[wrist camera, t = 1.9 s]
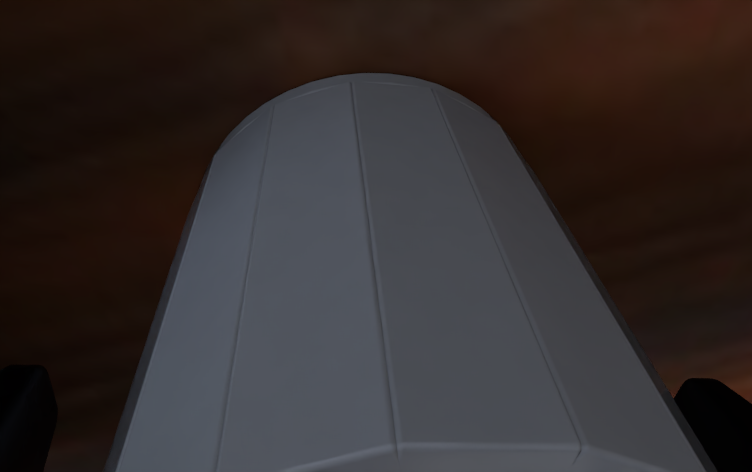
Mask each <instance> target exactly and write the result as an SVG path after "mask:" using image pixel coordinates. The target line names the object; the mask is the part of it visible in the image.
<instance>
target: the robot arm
mask: <svg viewBox="0 0 752 472" xmlns="http://www.w3.org/2000/svg"><path fill="white" fill-rule="evenodd" d="M674 401H675V402H676V404H677V406H678V407H679V409H680V410H681V412H682V414H683V415H684V417H685V419H686V420H687V422H688V423H689V425H690V427H691V428H692V430H693V432H694V433H695V435H696V436H697V438H698V440H699V441H700V443H701V445H702V446H703V448H704V449H705V451H706V453H707V454H708V456H709V458H710V459H711V461H712V463H713V464H714V466H715V467H716V469H717V471H718V472H752V404H751V403H750V402H748V401H747V400H745V399H744V398H743V397H741V396H740V395H738V394H737V393H736V392H734V391H733V390H731V389H730V388H729V387H727V386H726V385H725V384H723V383H722V382H720V381H718V380H715V379H710V378H691V379H688V380H686V381H685V382H684V383H683V384H682V386H681V387H680V389H679V391H678V392H677V394H676V396H675V397H674ZM57 416H58V408H57V403H56V399H55V396H54V392H53V389H52V385H51V382H50V378H49V375H48V372H47V370H46V369H45V368H44V367H43V366H41V365H20V364H15V365H10V366H7V367H5V368H4V369H2V370H1V371H0V472H43V470H44V466H45V463H46V459H47V456H48V452H49V448H50V445H51V441H52V438H53V434H54V430H55V427H56V423H57Z"/></svg>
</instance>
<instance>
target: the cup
mask: <svg viewBox="0 0 752 472" xmlns="http://www.w3.org/2000/svg"><path fill="white" fill-rule="evenodd" d="M103 472H718V471H717V469H716V467H715V466H714V464H713V463H712V461H711V459H710V458H709V456H708V454H707V453H706V451H705V449H704V448H703V446H702V445H701V443H700V441H699V440H698V438H697V436H696V435H695V433H694V432H693V430H692V428H691V427H690V425H689V423H688V422H687V420H686V419H685V417H684V415H683V414H682V412H681V410H680V409H679V407H678V406H677V404H676V402H675V401H674V399H673V397H672V396H671V394H670V392H669V391H668V389H667V388H666V386H665V384H664V383H663V381H662V379H661V378H660V376H659V375H658V373H657V371H656V370H655V368H654V366H653V365H652V363H651V362H650V360H649V358H648V357H647V355H646V353H645V352H644V350H643V349H642V347H641V345H640V344H639V342H638V340H637V339H636V337H635V335H634V334H633V332H632V331H631V329H630V327H629V326H628V324H627V322H626V321H625V319H624V318H623V316H622V314H621V313H620V311H619V309H618V308H617V306H616V305H615V303H614V301H613V300H612V298H611V296H610V295H609V293H608V292H607V290H606V288H605V287H604V285H603V283H602V282H601V280H600V278H599V277H598V275H597V274H596V272H595V270H594V269H593V267H592V265H591V264H590V262H589V261H588V259H587V257H586V256H585V254H584V252H583V251H582V249H581V248H580V246H579V244H578V243H577V241H576V239H575V238H574V236H573V235H572V233H571V231H570V230H569V228H568V226H567V225H566V223H565V222H564V220H563V218H562V217H561V215H560V213H559V212H558V210H557V208H556V207H555V205H554V204H553V202H552V200H551V199H550V197H549V195H548V194H547V192H546V191H545V189H544V187H543V186H542V184H541V182H540V181H539V179H538V178H537V176H536V174H535V173H534V171H533V170H532V169H531V167H530V166H529V164H528V163H527V162H526V160H525V159H524V158H523V156H522V155H521V153H520V152H519V151H518V149H517V147H516V146H515V144H514V143H513V141H512V139H511V138H510V136H509V135H508V134H507V133H506V132H505V130H504V129H503V128H502V127H501V126H500V125H499V123H498V122H497V121H496V120H495V119H494V118H492V117H491V116H490V115H489V114H488V113H487V112H485V111H484V110H483V109H482V108H481V107H480V106H478V105H476V104H475V103H473V102H472V101H470V100H469V99H467V98H465V97H464V96H462V95H461V94H459V93H456V92H454V91H452V90H450V89H447V88H445V87H443V86H441V85H438V84H435V83H432V82H428V81H425V80H422V79H418V78H415V77H408V76H402V75H395V74H387V73H358V74H349V75H339V76H334V77H330V78H326V79H321V80H317V81H313V82H310V83H307V84H305V85H302V86H299V87H297V88H294V89H291V90H289V91H287V92H285V93H283V94H281V95H279V96H277V97H276V98H274V99H272V100H270V101H268V102H266V103H265V104H263V105H262V106H261V107H259V108H258V109H257V110H255V111H254V112H253V113H251V114H250V115H248V116H247V117H246V118H245V119H244V120H243V121H242V122H241V123H240V124H239V125H238V126H237V127H236V128H235V129H234V130H233V131H232V132H230V133H229V135H228V136H227V137H226V139H225V140H224V141H223V143H222V144H221V145H220V147H219V148H218V149H217V151H216V152H215V154H214V156H213V158H212V160H211V161H210V163H209V165H208V167H207V169H206V171H205V174H204V177H203V180H202V183H201V185H200V188H199V190H198V193H197V195H196V197H195V199H194V202H193V204H192V206H191V208H190V211H189V214H188V217H187V220H186V223H185V226H184V229H183V232H182V235H181V238H180V241H179V244H178V247H177V250H176V253H175V256H174V259H173V262H172V265H171V268H170V271H169V274H168V277H167V280H166V283H165V286H164V289H163V292H162V295H161V298H160V301H159V304H158V307H157V310H156V313H155V316H154V319H153V322H152V325H151V328H150V331H149V334H148V337H147V340H146V344H145V347H144V350H143V353H142V356H141V359H140V362H139V365H138V368H137V371H136V374H135V377H134V380H133V383H132V386H131V389H130V392H129V395H128V398H127V401H126V404H125V407H124V410H123V413H122V416H121V419H120V422H119V425H118V428H117V431H116V434H115V437H114V440H113V443H112V446H111V449H110V452H109V455H108V458H107V461H106V464H105V467H104V470H103Z"/></svg>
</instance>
